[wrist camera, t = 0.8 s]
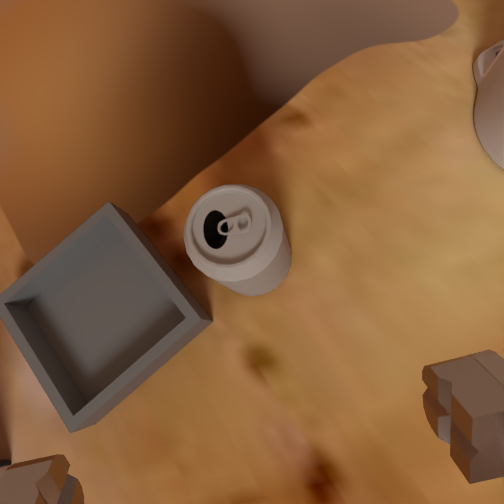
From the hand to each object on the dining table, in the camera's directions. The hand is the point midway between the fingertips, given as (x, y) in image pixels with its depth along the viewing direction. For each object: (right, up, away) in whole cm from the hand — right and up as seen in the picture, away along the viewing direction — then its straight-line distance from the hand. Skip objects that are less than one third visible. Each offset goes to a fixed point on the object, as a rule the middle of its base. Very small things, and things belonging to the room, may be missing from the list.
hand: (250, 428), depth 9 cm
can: (0, +3, +30) cm, 30 cm away
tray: (-14, -2, +31) cm, 34 cm away
